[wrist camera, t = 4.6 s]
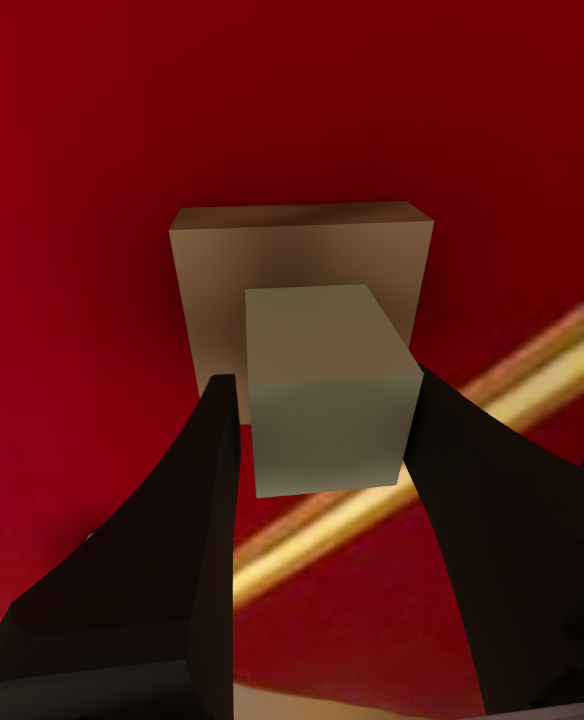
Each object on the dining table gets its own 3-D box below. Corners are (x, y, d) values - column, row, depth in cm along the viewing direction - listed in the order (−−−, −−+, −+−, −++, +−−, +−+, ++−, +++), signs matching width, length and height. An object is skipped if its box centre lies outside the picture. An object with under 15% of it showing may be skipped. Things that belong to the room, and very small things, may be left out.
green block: (365, 284, 13) (423, 373, 9) (354, 379, 15) (396, 484, 11) (244, 289, 13) (248, 385, 9) (251, 385, 15) (257, 498, 11)
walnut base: (401, 197, 14) (434, 221, 12) (376, 371, 19) (395, 413, 17) (181, 204, 14) (169, 230, 11) (210, 381, 18) (205, 427, 16)
